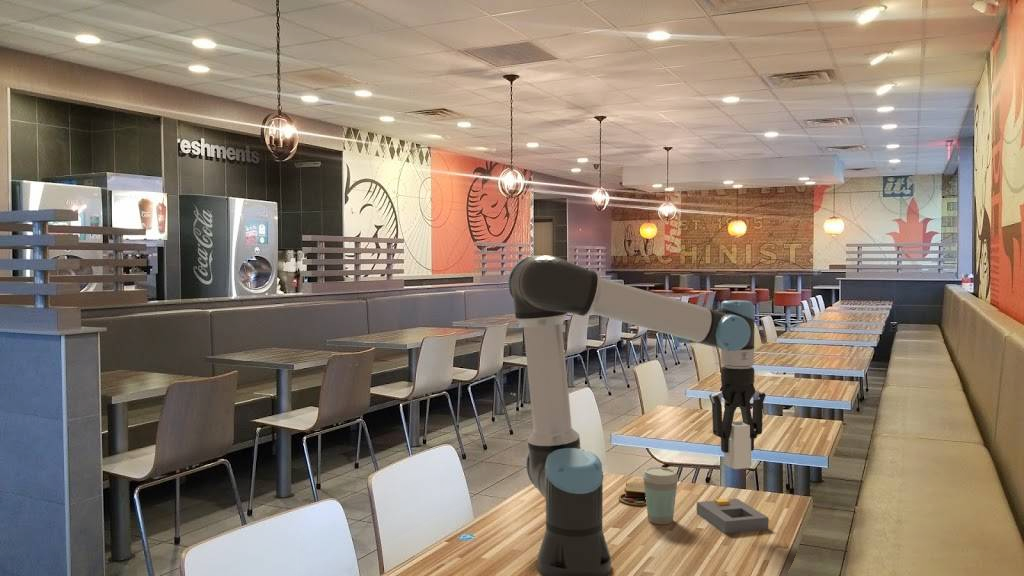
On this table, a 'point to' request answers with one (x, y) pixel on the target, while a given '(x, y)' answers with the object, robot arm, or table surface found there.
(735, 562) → the table surface
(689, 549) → the table surface
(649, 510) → the coffee cup
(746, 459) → the block
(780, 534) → the table surface
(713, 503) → the grey charger dock
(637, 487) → the toy sandwich meal
